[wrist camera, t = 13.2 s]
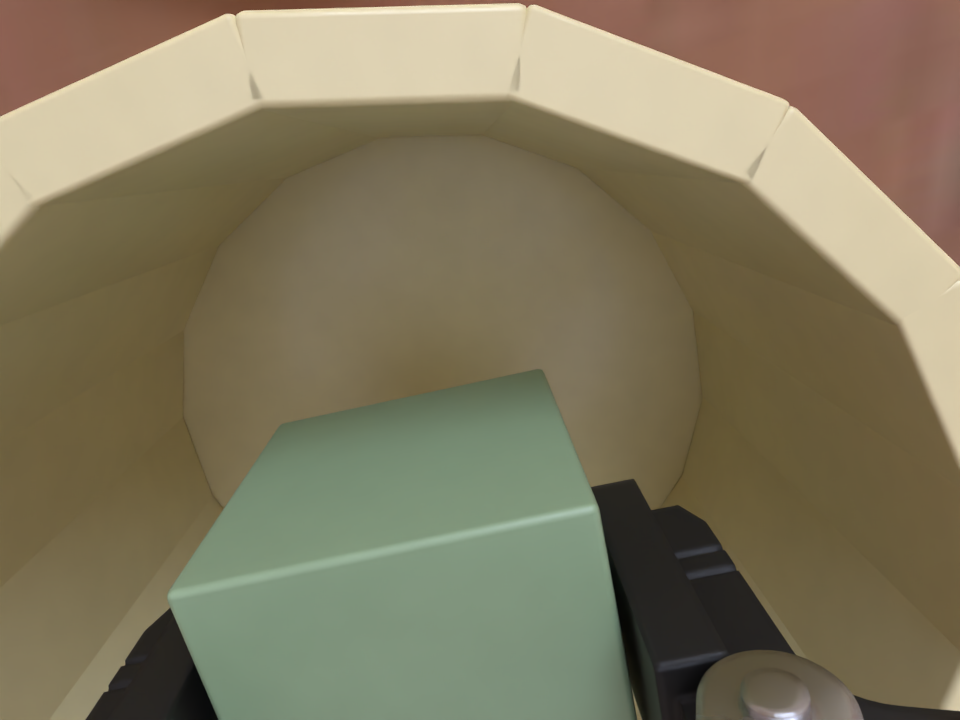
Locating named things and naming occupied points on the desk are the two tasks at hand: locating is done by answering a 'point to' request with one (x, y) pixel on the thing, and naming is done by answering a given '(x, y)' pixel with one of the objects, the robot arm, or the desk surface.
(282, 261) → the canister
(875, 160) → the desk surface
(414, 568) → the block
